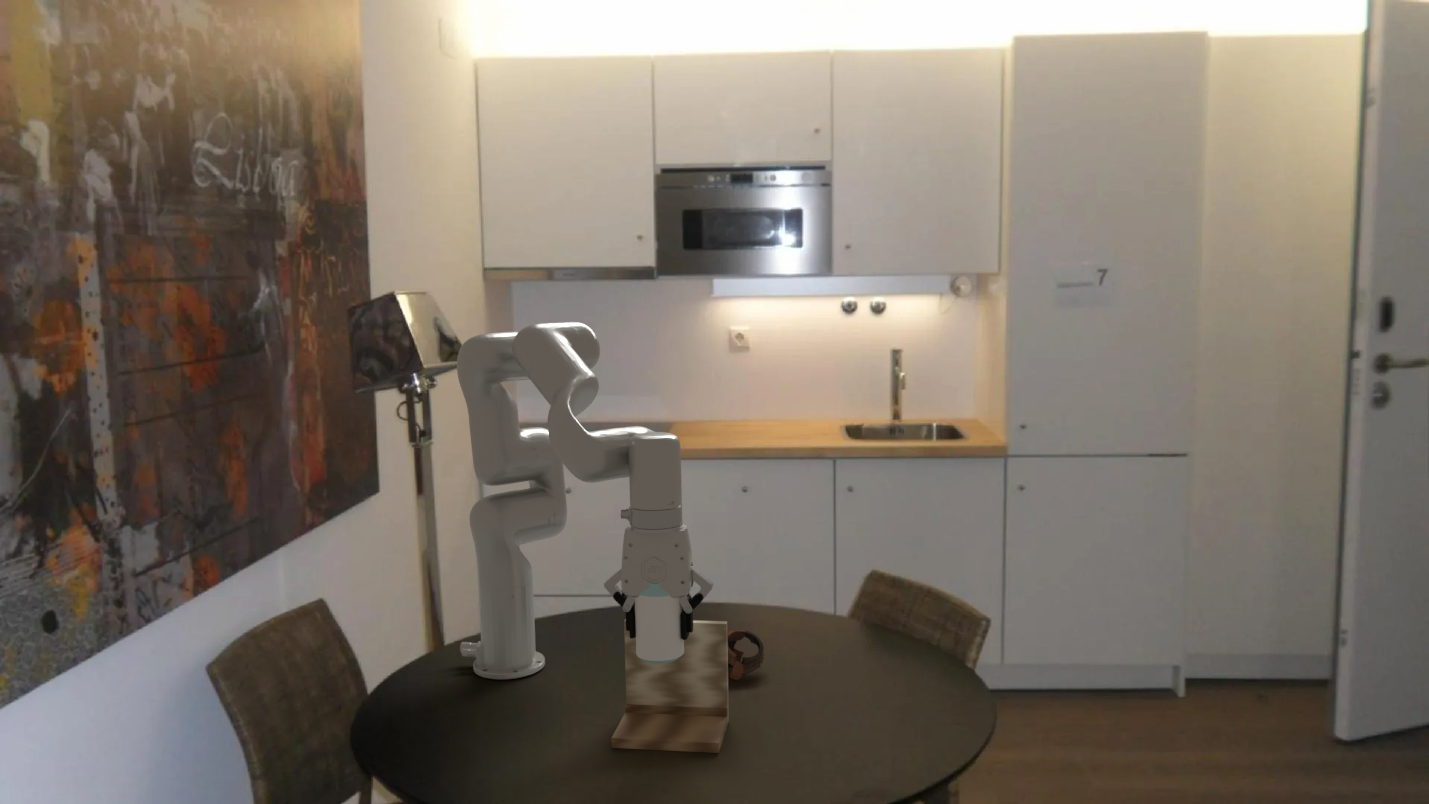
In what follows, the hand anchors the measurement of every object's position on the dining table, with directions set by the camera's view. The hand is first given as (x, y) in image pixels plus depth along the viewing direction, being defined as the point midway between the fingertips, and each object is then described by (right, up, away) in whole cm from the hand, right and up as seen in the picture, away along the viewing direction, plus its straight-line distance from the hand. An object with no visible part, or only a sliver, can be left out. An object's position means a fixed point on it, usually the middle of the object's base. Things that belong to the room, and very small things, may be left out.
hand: (659, 635), depth 154 cm
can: (0, -3, 0) cm, 3 cm away
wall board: (+2, -16, +5) cm, 17 cm away
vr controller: (+11, -13, +30) cm, 35 cm away
